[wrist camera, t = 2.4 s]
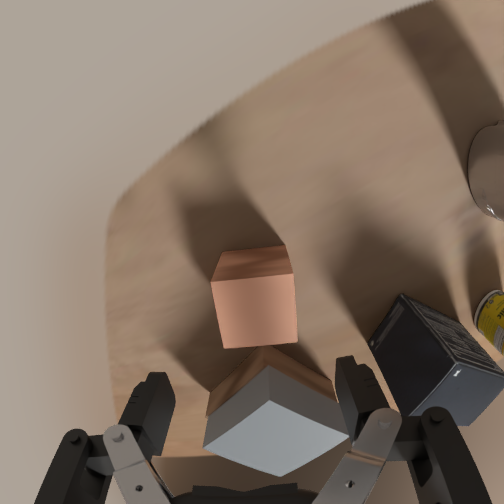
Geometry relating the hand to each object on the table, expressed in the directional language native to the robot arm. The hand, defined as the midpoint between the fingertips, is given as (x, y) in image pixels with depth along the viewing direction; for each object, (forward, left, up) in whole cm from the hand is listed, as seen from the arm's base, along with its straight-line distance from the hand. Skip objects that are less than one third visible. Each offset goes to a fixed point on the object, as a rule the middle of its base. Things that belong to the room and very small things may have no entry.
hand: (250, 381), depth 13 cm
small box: (-5, +17, -12) cm, 22 cm away
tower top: (+8, +9, -8) cm, 15 cm away
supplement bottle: (-13, +24, -12) cm, 30 cm away
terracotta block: (0, 0, -12) cm, 12 cm away
